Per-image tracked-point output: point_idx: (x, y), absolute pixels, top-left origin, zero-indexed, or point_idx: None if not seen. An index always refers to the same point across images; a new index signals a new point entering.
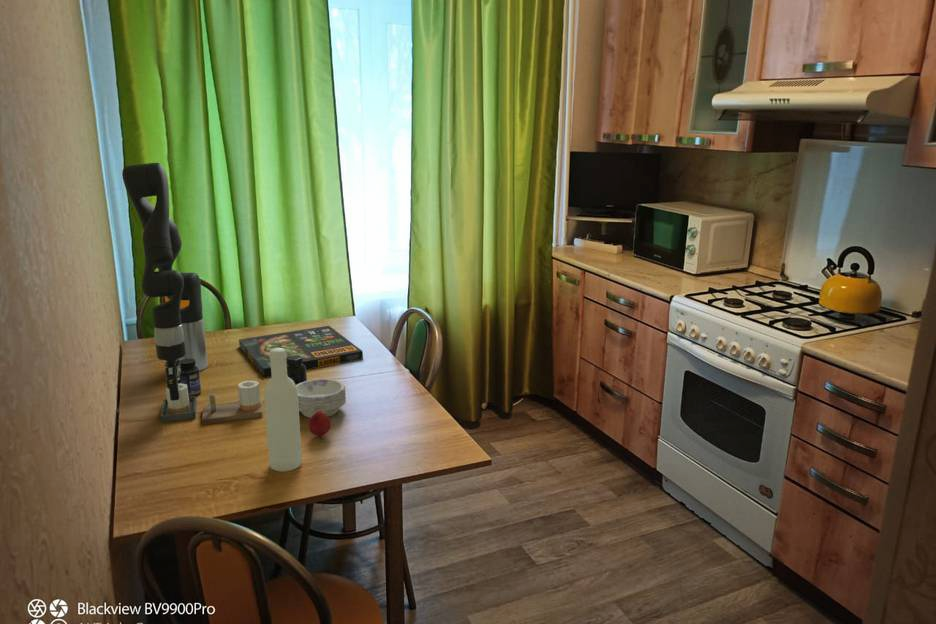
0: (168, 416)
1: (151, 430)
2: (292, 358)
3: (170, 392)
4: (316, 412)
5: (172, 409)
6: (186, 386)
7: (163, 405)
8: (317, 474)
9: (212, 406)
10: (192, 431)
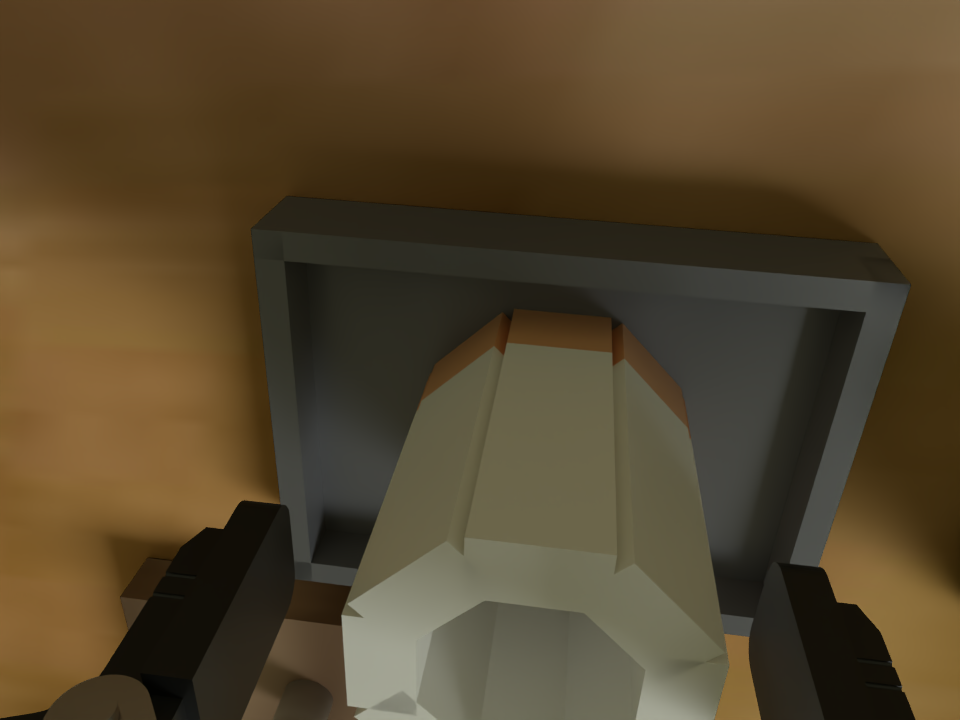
0: (267, 318)
1: (81, 78)
2: None
3: (187, 609)
4: None
5: (440, 382)
6: None
7: (656, 277)
8: None
9: None
10: (14, 472)
